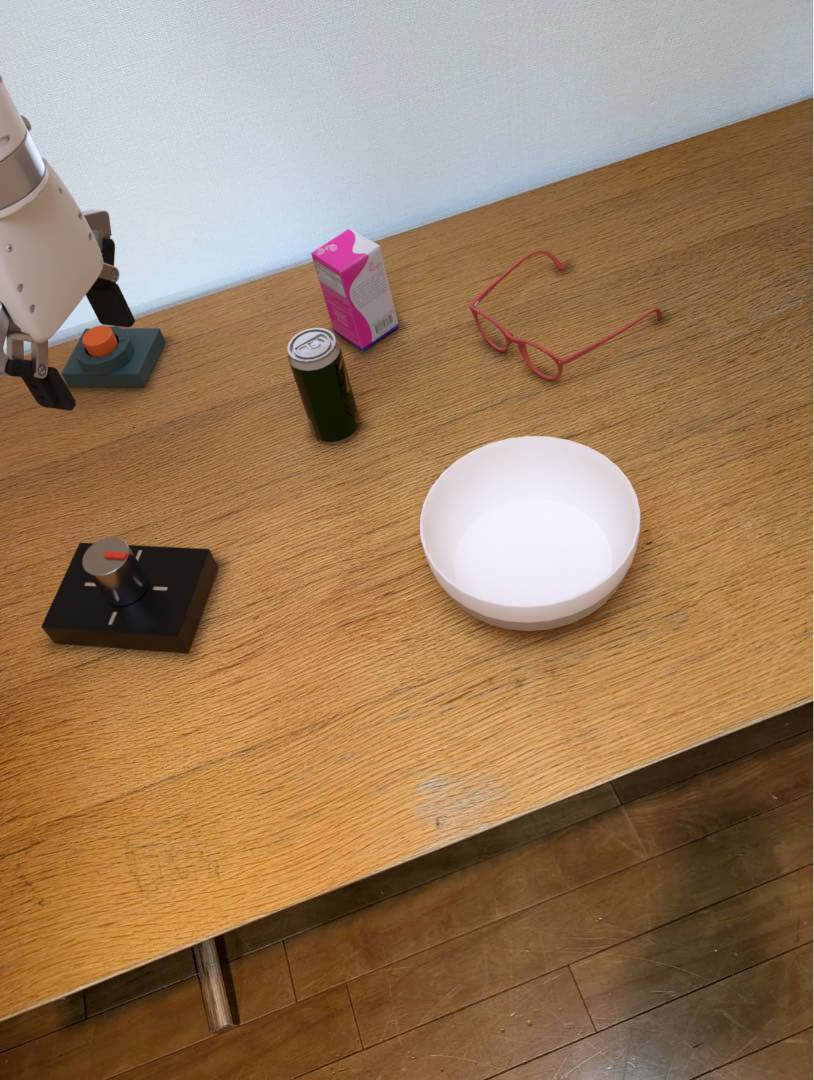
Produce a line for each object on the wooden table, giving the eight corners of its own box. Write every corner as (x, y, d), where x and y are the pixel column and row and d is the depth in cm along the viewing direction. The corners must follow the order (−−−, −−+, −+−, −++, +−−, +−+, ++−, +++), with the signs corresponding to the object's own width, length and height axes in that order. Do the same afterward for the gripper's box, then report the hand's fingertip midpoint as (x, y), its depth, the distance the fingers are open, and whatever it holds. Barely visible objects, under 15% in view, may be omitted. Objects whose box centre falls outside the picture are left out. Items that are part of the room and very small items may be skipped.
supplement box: (369, 306, 119) (350, 225, 110) (400, 327, 116) (383, 245, 107) (331, 331, 117) (309, 251, 108) (362, 353, 114) (341, 272, 105)
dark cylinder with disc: (97, 604, 94) (73, 572, 89) (113, 567, 96) (91, 533, 92) (139, 607, 93) (117, 574, 88) (154, 569, 95) (134, 535, 91)
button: (83, 357, 116) (77, 346, 115) (94, 336, 118) (88, 325, 117) (111, 357, 115) (105, 345, 114) (122, 336, 117) (116, 325, 116)
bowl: (483, 476, 100) (475, 415, 93) (666, 527, 92) (671, 465, 86) (397, 622, 91) (380, 567, 84) (593, 693, 83) (592, 638, 76)
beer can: (324, 454, 105) (296, 370, 96) (305, 424, 109) (277, 340, 99) (369, 433, 106) (346, 348, 97) (349, 404, 109) (325, 319, 100)
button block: (67, 388, 119) (53, 363, 116) (92, 341, 123) (79, 316, 120) (143, 389, 116) (131, 363, 113) (165, 341, 121) (154, 316, 118)
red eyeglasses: (458, 334, 114) (453, 299, 110) (556, 263, 119) (554, 228, 115) (570, 403, 104) (569, 367, 100) (671, 323, 109) (673, 286, 105)
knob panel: (54, 643, 95) (39, 625, 93) (91, 560, 101) (78, 541, 99) (188, 653, 92) (177, 635, 90) (218, 566, 98) (209, 547, 96)
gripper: (9, 102, 72) (102, 291, 85) (-137, 248, 63) (-6, 435, 76) (95, 104, 70) (177, 298, 83) (-43, 256, 60) (75, 448, 74)
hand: (89, 363), depth 80 cm, fingers open, 9 cm apart
